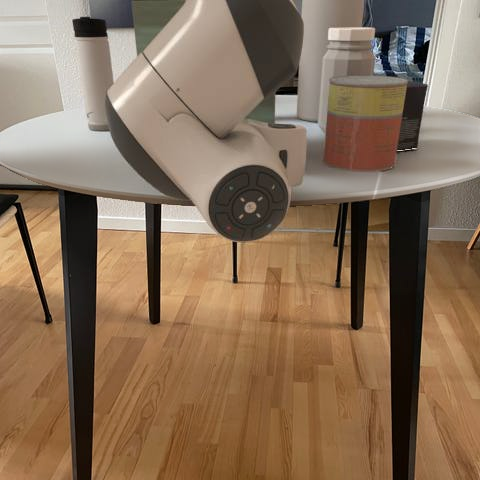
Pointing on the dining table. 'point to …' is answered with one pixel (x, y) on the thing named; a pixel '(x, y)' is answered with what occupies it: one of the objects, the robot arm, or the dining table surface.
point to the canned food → (363, 122)
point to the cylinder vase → (320, 47)
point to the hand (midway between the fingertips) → (217, 133)
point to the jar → (345, 60)
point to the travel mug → (94, 68)
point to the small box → (412, 115)
